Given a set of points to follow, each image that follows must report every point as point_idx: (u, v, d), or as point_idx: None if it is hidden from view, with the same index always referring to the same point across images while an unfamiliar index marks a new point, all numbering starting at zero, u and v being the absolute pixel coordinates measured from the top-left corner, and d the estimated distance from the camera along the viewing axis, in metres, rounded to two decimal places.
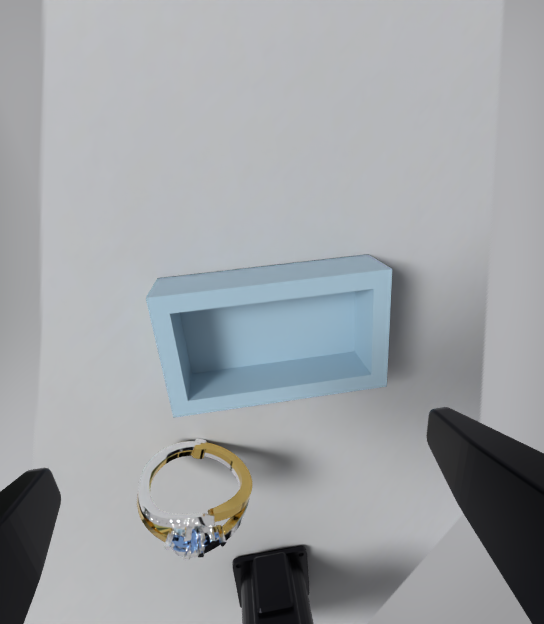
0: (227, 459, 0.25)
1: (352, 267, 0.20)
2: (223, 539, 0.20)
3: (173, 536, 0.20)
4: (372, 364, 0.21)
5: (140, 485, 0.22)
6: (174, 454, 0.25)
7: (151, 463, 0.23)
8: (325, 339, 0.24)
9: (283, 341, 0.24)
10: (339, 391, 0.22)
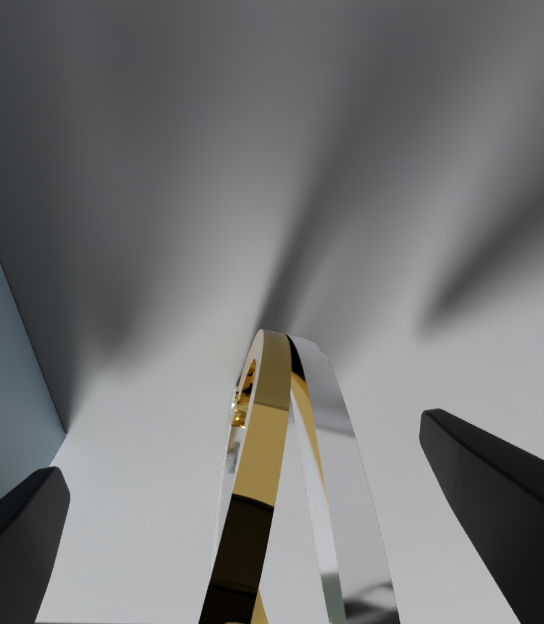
0: None
1: None
2: None
3: None
4: None
5: None
6: None
7: (213, 556, 0.09)
8: None
9: None
10: None
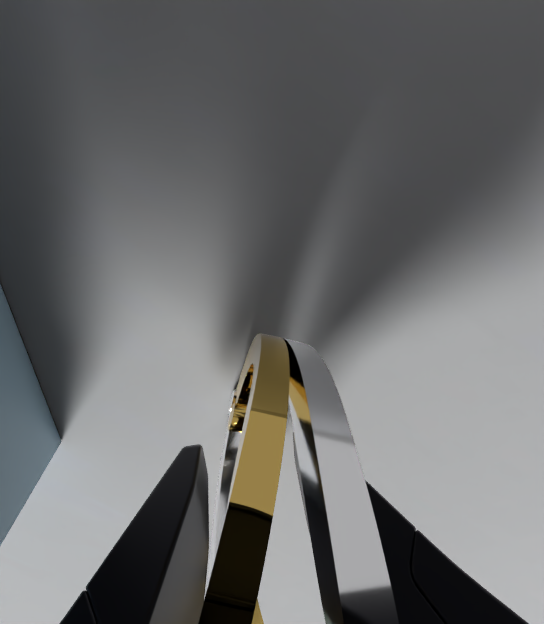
0: None
1: None
2: None
3: None
4: None
5: None
6: None
7: (211, 563, 0.09)
8: None
9: None
10: None
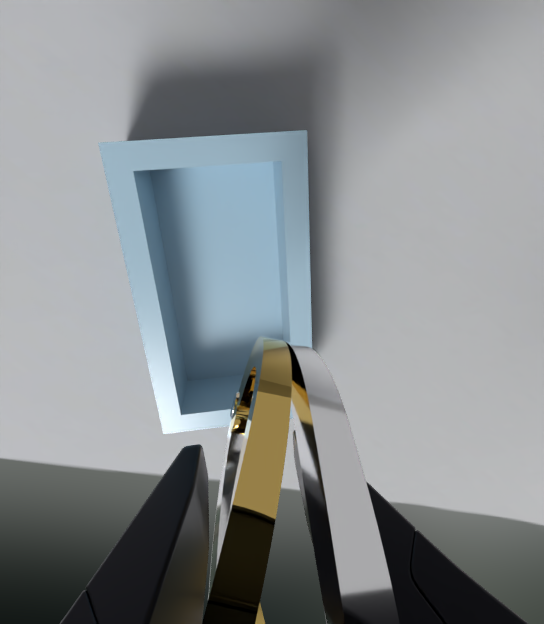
0: None
1: None
2: None
3: None
4: (262, 160, 0.14)
5: None
6: None
7: (213, 565, 0.09)
8: (250, 209, 0.17)
9: (250, 267, 0.18)
10: (306, 212, 0.14)
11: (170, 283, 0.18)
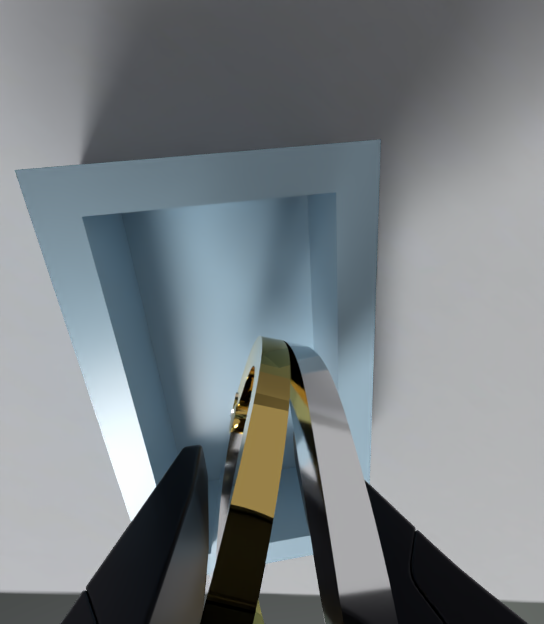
0: None
1: None
2: None
3: None
4: (303, 192, 0.08)
5: None
6: None
7: (212, 564, 0.09)
8: (272, 255, 0.11)
9: (271, 335, 0.13)
10: (372, 272, 0.09)
11: (156, 362, 0.12)
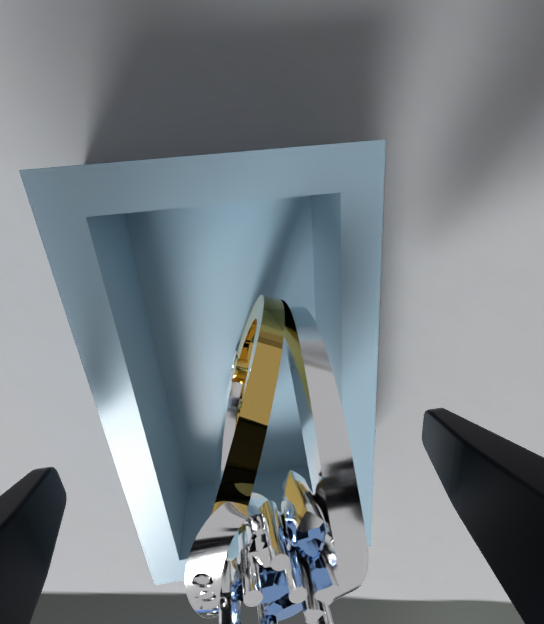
0: (255, 327, 0.10)
1: None
2: (299, 511, 0.05)
3: (263, 614, 0.06)
4: (307, 192, 0.08)
5: None
6: (236, 420, 0.12)
7: (217, 484, 0.11)
8: (275, 256, 0.11)
9: None
10: (376, 272, 0.09)
11: (159, 363, 0.12)
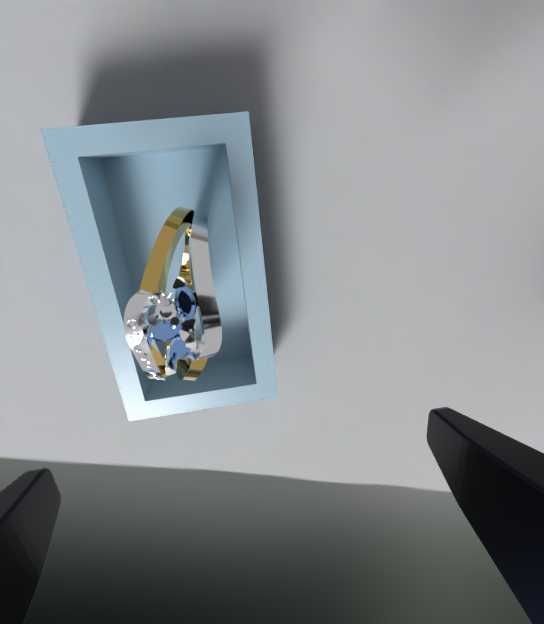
0: (188, 237, 0.16)
1: None
2: (175, 281, 0.11)
3: (168, 356, 0.12)
4: (206, 142, 0.14)
5: None
6: None
7: None
8: (205, 195, 0.17)
9: (209, 253, 0.18)
10: (254, 193, 0.15)
11: (130, 271, 0.18)
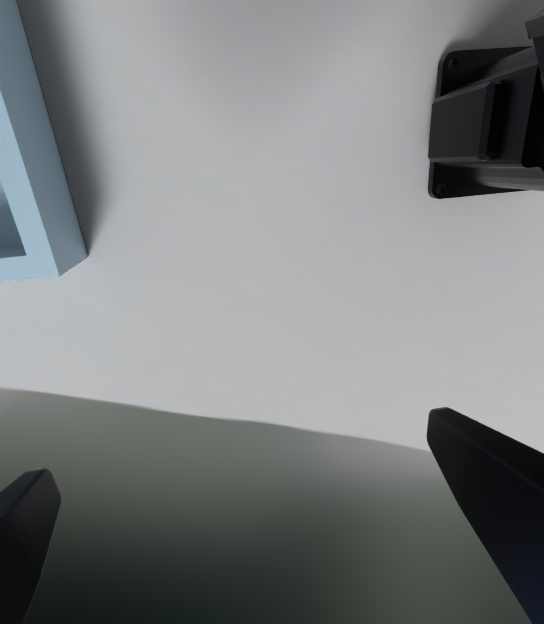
0: None
1: None
2: None
3: None
4: None
5: None
6: None
7: None
8: None
9: None
10: None
11: None
